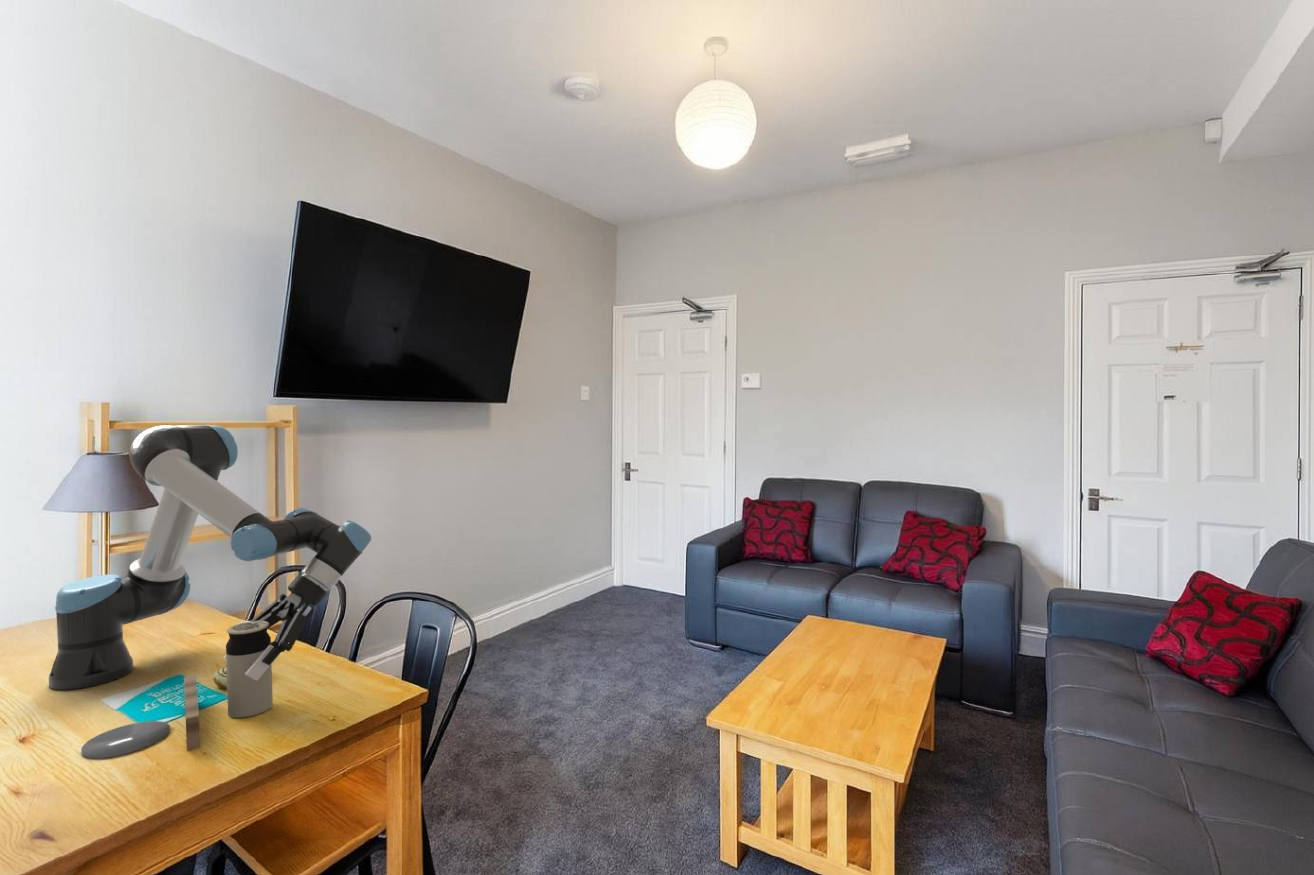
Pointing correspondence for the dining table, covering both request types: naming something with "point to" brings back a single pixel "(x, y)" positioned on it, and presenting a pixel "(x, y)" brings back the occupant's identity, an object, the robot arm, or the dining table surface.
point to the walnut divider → (191, 713)
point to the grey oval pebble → (125, 739)
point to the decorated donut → (221, 678)
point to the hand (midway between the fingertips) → (239, 669)
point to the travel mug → (240, 656)
